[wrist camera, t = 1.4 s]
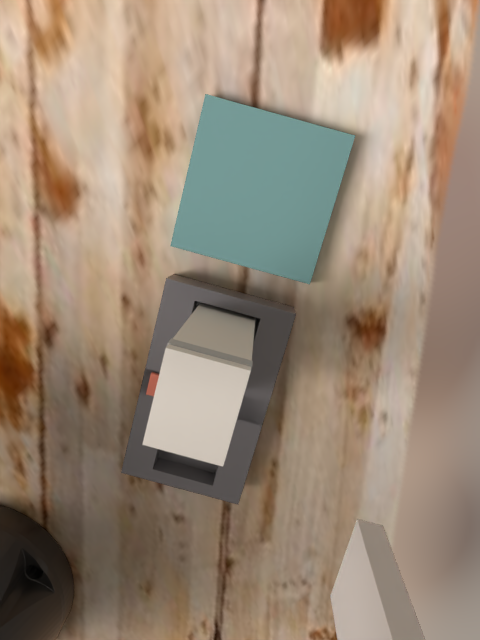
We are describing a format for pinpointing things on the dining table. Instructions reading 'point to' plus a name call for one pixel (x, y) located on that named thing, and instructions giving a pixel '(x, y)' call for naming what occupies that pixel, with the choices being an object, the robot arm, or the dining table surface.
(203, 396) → the block
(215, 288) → the power strip
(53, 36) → the dining table surface
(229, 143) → the pad
